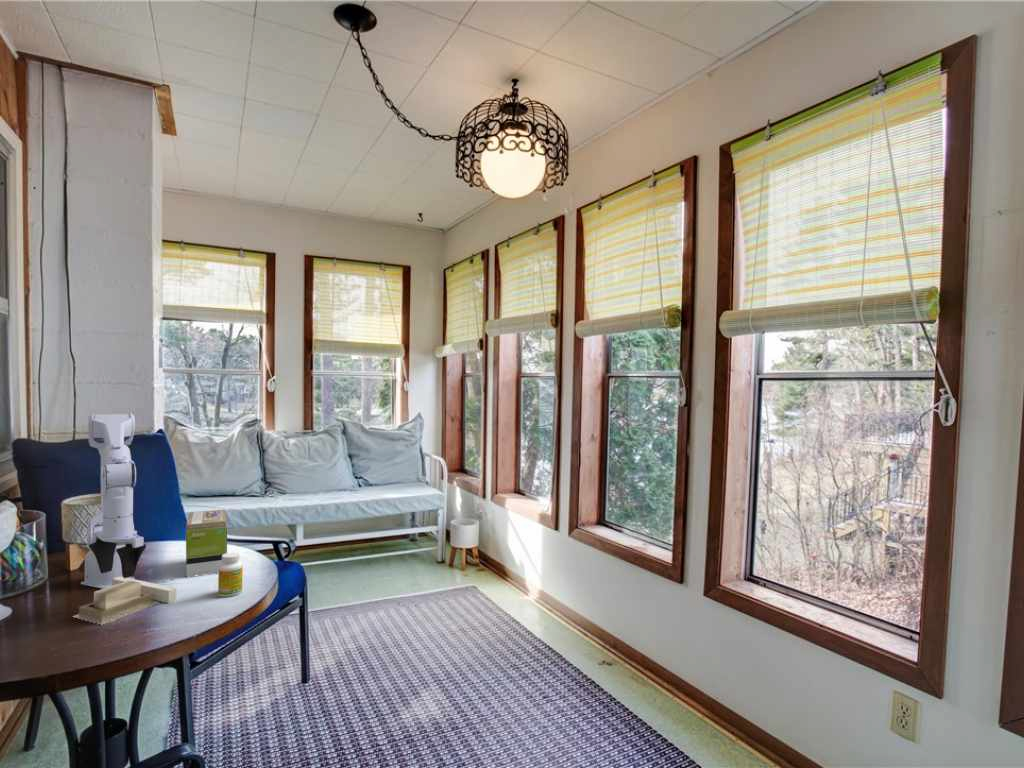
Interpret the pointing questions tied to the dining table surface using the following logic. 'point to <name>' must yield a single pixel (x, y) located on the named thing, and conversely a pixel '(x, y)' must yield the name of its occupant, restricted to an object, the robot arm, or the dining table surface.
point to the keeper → (115, 610)
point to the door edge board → (152, 589)
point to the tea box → (205, 541)
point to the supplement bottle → (230, 575)
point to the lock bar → (116, 594)
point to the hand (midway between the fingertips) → (117, 574)
